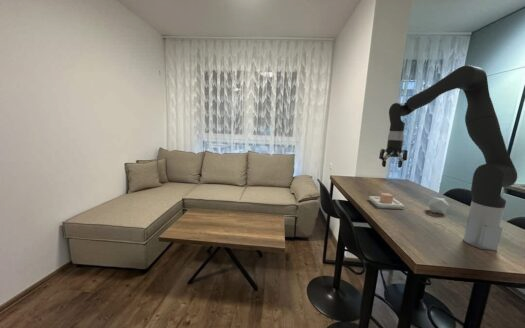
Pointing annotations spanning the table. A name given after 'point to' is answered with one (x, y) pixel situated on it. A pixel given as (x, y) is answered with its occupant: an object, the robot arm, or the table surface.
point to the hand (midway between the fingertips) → (391, 167)
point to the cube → (386, 198)
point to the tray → (379, 204)
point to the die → (438, 205)
